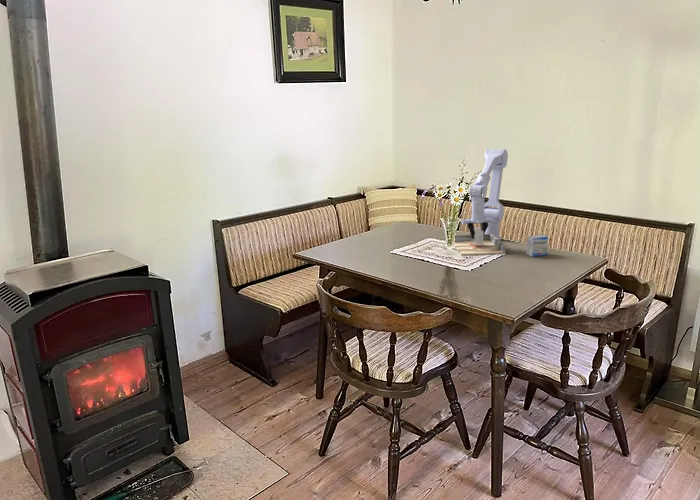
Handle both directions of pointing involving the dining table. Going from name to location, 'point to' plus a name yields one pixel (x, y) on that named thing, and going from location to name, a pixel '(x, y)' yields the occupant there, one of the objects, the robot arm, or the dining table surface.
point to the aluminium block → (477, 236)
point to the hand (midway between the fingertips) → (477, 238)
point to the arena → (489, 245)
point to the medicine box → (537, 245)
